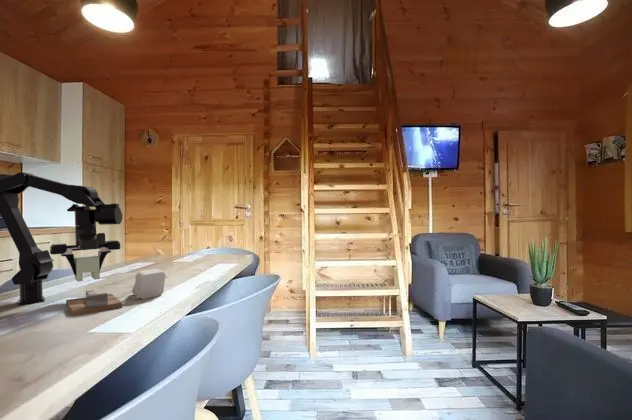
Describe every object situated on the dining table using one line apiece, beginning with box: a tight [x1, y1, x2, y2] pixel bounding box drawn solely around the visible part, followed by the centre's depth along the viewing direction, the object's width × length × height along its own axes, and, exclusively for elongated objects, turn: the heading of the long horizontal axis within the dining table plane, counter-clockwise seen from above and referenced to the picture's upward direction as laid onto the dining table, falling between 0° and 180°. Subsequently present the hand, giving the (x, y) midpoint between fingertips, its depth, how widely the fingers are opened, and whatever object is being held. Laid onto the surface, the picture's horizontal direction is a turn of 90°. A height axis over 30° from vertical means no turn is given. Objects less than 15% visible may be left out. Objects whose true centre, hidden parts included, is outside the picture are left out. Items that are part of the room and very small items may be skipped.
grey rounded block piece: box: [131, 268, 166, 300], centre depth 121 cm, size 8×10×10 cm
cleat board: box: [65, 289, 123, 317], centre depth 108 cm, size 16×12×4 cm
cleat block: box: [74, 254, 101, 283], centre depth 118 cm, size 7×6×7 cm
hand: (87, 273), depth 118 cm, fingers closed on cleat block, 6 cm apart
